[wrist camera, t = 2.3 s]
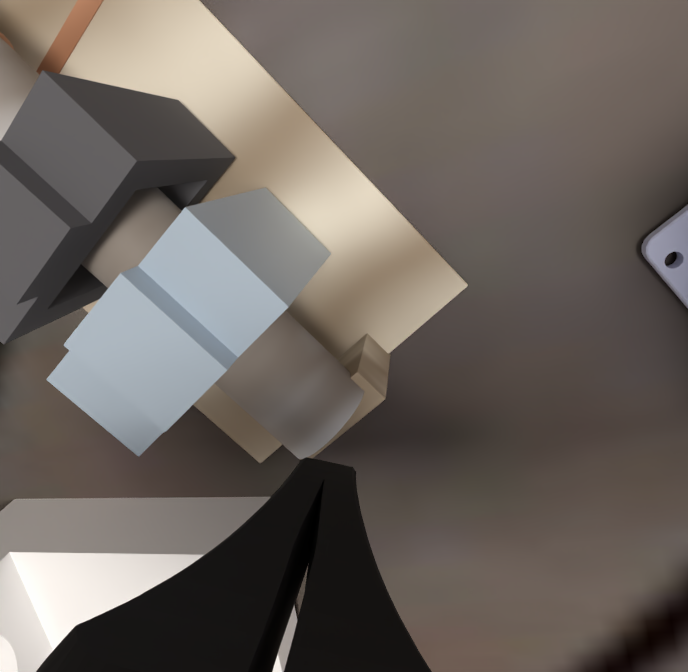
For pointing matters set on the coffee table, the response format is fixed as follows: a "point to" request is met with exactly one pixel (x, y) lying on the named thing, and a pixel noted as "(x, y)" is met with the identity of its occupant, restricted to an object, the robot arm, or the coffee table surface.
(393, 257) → the pipe rig
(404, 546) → the coffee table surface
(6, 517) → the bracket
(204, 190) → the grey notched block
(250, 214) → the sleeve
